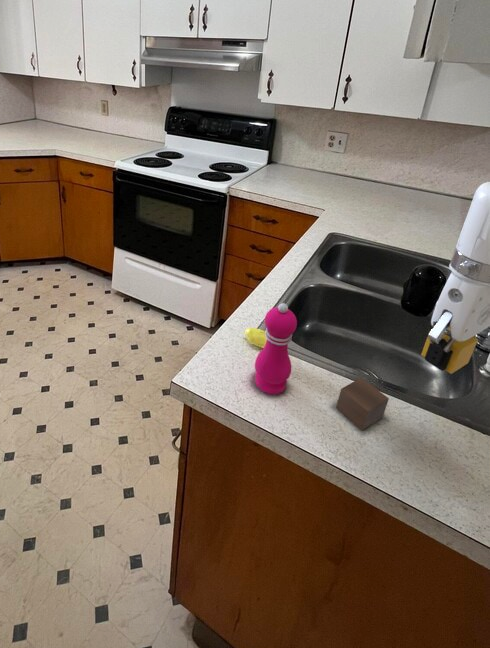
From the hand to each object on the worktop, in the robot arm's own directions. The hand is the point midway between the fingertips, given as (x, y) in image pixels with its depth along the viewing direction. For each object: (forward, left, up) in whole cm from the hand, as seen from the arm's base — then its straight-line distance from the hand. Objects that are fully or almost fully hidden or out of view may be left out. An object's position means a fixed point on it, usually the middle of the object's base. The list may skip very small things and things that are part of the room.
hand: (444, 357), depth 71 cm
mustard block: (0, 0, 0) cm, 0 cm away
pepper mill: (+15, -22, -18) cm, 32 cm away
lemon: (+9, -32, -18) cm, 38 cm away
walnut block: (+5, -8, -18) cm, 20 cm away
